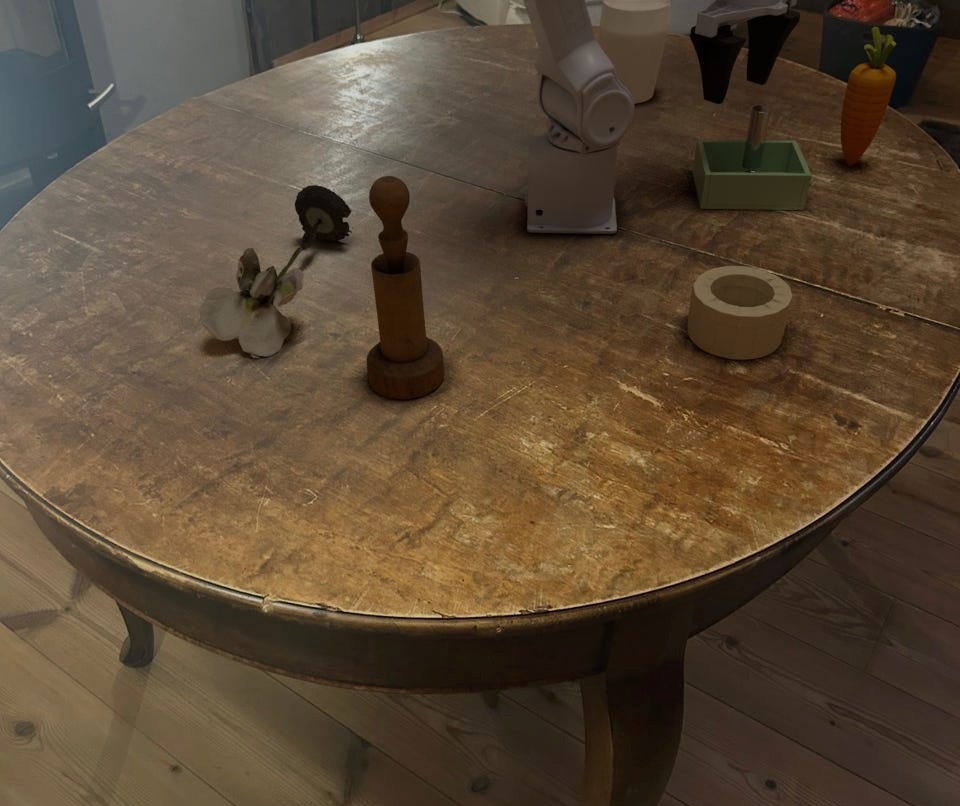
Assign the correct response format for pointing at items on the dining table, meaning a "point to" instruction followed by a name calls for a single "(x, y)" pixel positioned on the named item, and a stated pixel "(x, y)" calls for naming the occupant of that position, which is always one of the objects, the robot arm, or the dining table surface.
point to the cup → (635, 41)
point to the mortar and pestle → (399, 305)
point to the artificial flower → (272, 280)
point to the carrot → (866, 99)
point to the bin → (750, 176)
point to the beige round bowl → (738, 312)
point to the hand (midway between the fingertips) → (735, 91)
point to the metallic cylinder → (756, 138)
